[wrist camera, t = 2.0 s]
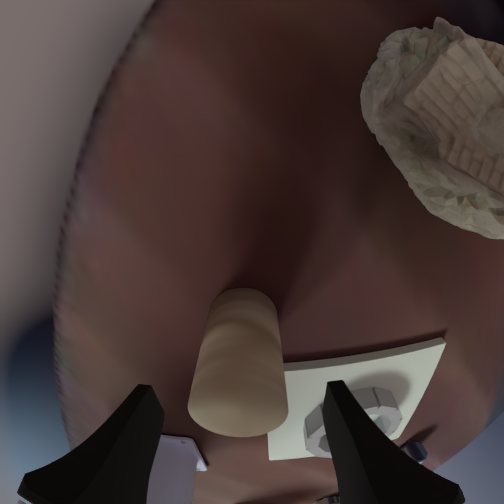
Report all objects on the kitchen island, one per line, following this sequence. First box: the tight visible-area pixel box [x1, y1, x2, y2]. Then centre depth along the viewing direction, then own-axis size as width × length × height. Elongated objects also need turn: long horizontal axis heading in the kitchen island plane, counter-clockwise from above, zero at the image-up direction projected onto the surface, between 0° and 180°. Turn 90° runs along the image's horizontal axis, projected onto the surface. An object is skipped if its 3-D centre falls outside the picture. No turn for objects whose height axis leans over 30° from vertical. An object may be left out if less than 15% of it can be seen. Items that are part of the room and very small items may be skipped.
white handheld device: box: [312, 442, 428, 504], centre depth 26 cm, size 5×7×25 cm
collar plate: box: [268, 337, 446, 460], centre depth 19 cm, size 14×14×3 cm
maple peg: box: [188, 288, 289, 437], centre depth 13 cm, size 4×4×7 cm
